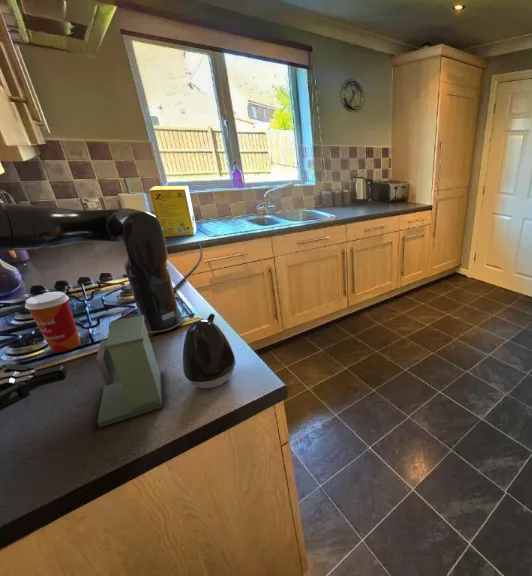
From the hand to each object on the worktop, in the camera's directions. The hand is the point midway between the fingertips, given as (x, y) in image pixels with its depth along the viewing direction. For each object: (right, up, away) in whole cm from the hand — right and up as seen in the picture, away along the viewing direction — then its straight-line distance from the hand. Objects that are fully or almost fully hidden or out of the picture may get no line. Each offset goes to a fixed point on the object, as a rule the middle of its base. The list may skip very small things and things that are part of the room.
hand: (64, 372), depth 60 cm
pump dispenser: (+20, -5, +14) cm, 25 cm away
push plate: (+5, -2, +4) cm, 7 cm away
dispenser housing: (+6, -8, +8) cm, 13 cm away
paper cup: (-23, 0, +24) cm, 33 cm away
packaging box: (-59, +47, +128) cm, 149 cm away
